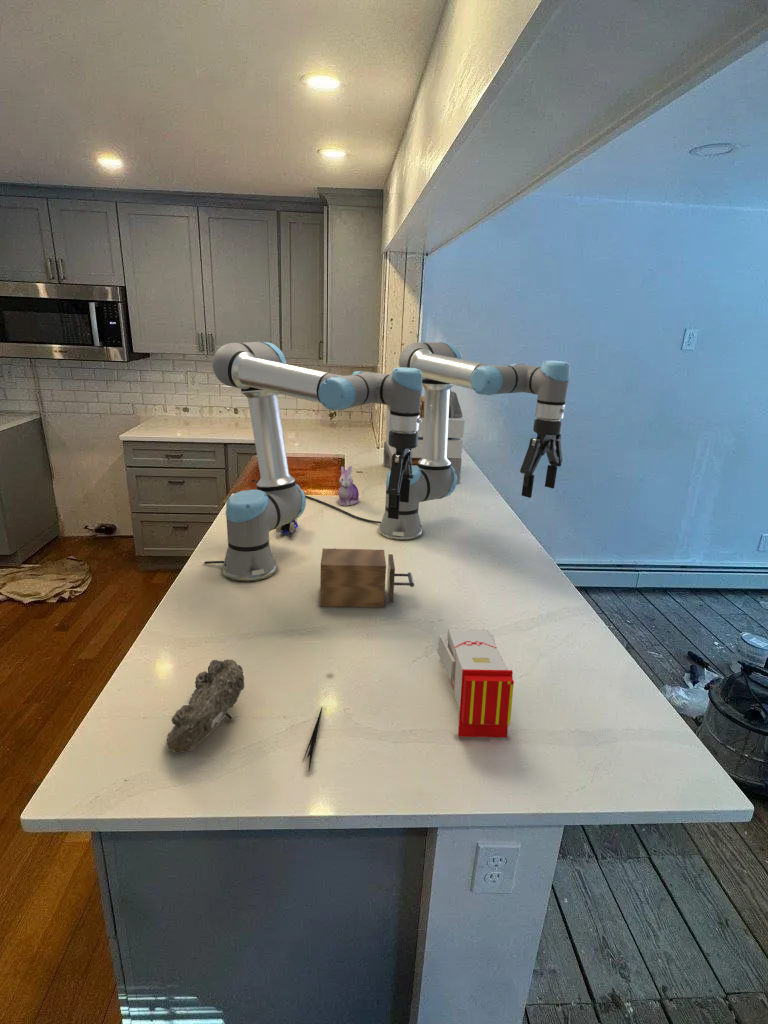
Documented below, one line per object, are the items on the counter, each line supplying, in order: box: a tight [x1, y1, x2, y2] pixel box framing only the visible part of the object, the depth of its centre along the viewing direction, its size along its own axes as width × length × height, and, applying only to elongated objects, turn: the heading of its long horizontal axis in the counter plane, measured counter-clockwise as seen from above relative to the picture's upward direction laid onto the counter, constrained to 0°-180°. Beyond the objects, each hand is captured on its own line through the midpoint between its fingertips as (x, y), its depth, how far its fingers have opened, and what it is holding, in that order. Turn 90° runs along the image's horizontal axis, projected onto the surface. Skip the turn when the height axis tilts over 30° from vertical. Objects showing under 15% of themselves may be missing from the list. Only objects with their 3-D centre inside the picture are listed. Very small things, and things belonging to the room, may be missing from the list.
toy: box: [437, 628, 515, 738], centre depth 117 cm, size 12×13×30 cm
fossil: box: [166, 658, 245, 754], centre depth 106 cm, size 22×10×15 cm
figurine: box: [338, 465, 360, 506], centre depth 227 cm, size 9×10×15 cm
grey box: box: [383, 389, 465, 484], centre depth 268 cm, size 34×33×41 cm
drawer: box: [386, 553, 415, 604], centre depth 153 cm, size 21×9×10 cm, turn 93°
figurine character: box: [275, 518, 299, 538], centre depth 196 cm, size 7×8×15 cm
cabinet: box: [319, 548, 387, 608], centre depth 153 cm, size 17×10×12 cm, turn 93°
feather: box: [301, 673, 332, 771], centre depth 108 cm, size 2×28×2 cm
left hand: (398, 509), depth 151 cm, fingers open, 13 cm apart
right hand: (538, 491), depth 164 cm, fingers open, 13 cm apart
